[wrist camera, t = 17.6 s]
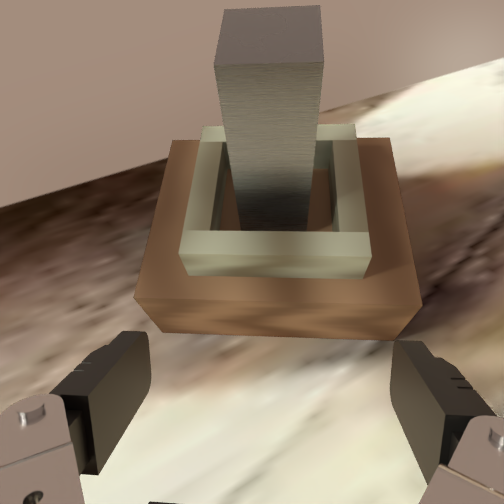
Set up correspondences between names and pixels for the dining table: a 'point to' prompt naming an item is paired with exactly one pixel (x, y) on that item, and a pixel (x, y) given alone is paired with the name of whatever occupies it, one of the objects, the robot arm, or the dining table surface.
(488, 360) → the dining table surface
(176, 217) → the stand
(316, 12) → the peg
